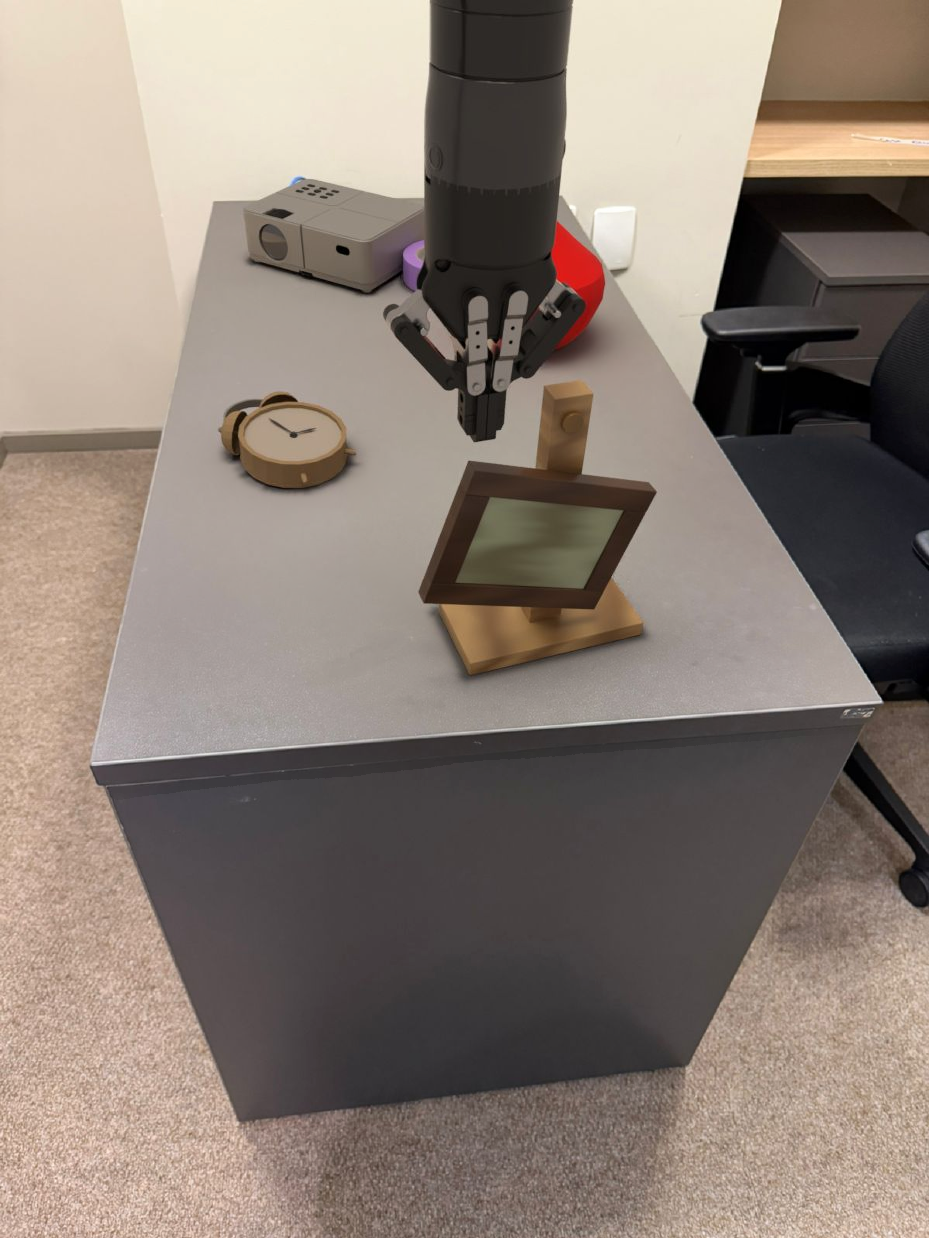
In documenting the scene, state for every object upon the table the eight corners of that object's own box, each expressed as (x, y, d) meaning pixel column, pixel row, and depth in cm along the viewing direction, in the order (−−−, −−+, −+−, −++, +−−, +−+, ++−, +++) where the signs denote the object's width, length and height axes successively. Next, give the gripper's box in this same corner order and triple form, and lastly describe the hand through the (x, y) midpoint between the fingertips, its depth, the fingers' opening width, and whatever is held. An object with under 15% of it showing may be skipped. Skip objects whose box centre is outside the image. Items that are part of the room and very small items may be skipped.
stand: (469, 676, 74) (482, 436, 58) (438, 613, 80) (443, 378, 64) (640, 634, 78) (696, 401, 63) (601, 577, 84) (642, 348, 68)
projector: (311, 227, 144) (306, 175, 138) (429, 257, 137) (429, 204, 131) (244, 262, 133) (237, 208, 128) (368, 297, 126) (366, 241, 120)
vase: (563, 300, 127) (579, 155, 114) (620, 360, 115) (646, 205, 102) (440, 315, 123) (442, 165, 109) (486, 379, 110) (494, 219, 97)
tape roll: (491, 295, 128) (492, 268, 125) (410, 299, 126) (410, 272, 123) (473, 262, 136) (474, 236, 133) (397, 266, 134) (397, 240, 131)
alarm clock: (292, 480, 88) (191, 404, 93) (290, 516, 92) (194, 441, 97) (371, 435, 95) (273, 365, 100) (367, 470, 99) (273, 401, 103)
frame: (423, 603, 69) (474, 470, 62) (417, 592, 69) (468, 459, 63) (594, 609, 76) (657, 492, 69) (587, 599, 77) (648, 481, 70)
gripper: (575, 131, 53) (547, 393, 65) (357, 147, 49) (370, 421, 61) (634, 172, 48) (592, 448, 60) (395, 193, 44) (401, 482, 56)
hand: (479, 434), depth 61 cm, fingers closed
